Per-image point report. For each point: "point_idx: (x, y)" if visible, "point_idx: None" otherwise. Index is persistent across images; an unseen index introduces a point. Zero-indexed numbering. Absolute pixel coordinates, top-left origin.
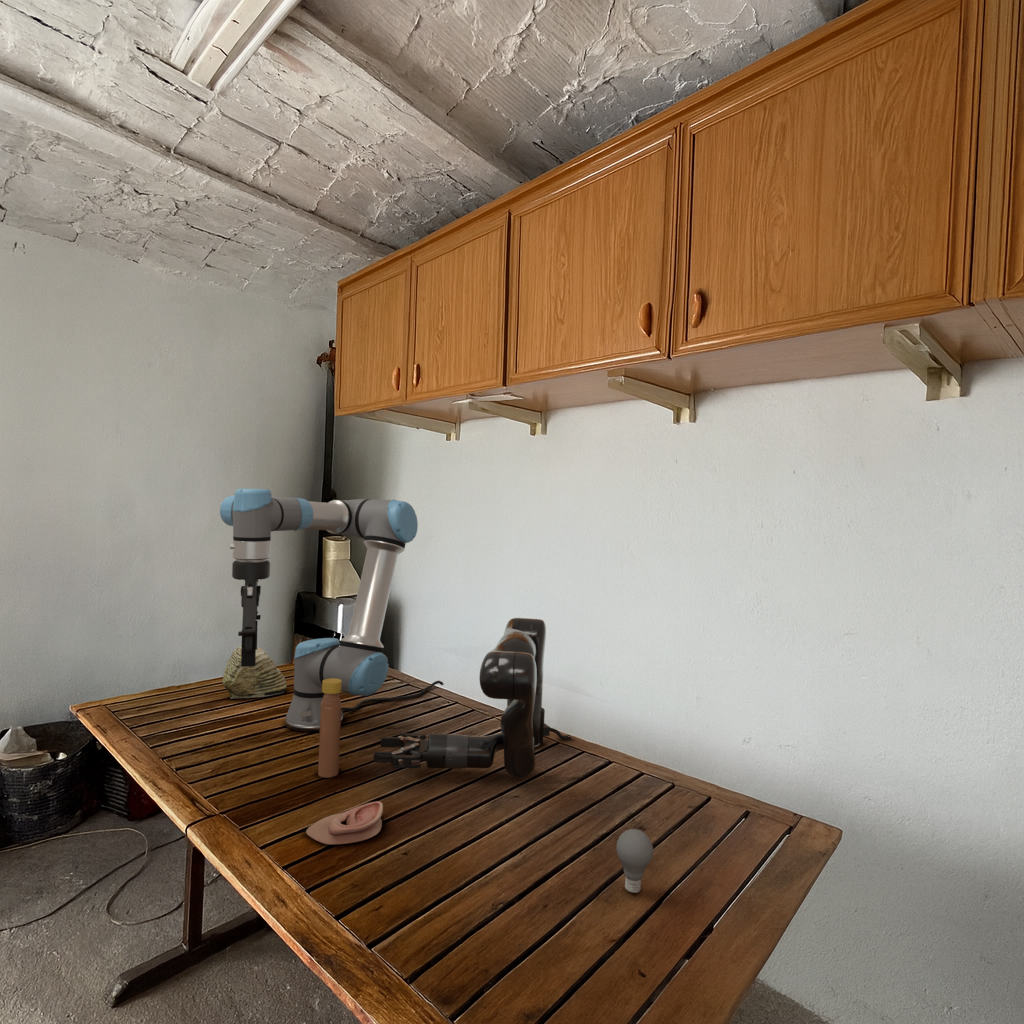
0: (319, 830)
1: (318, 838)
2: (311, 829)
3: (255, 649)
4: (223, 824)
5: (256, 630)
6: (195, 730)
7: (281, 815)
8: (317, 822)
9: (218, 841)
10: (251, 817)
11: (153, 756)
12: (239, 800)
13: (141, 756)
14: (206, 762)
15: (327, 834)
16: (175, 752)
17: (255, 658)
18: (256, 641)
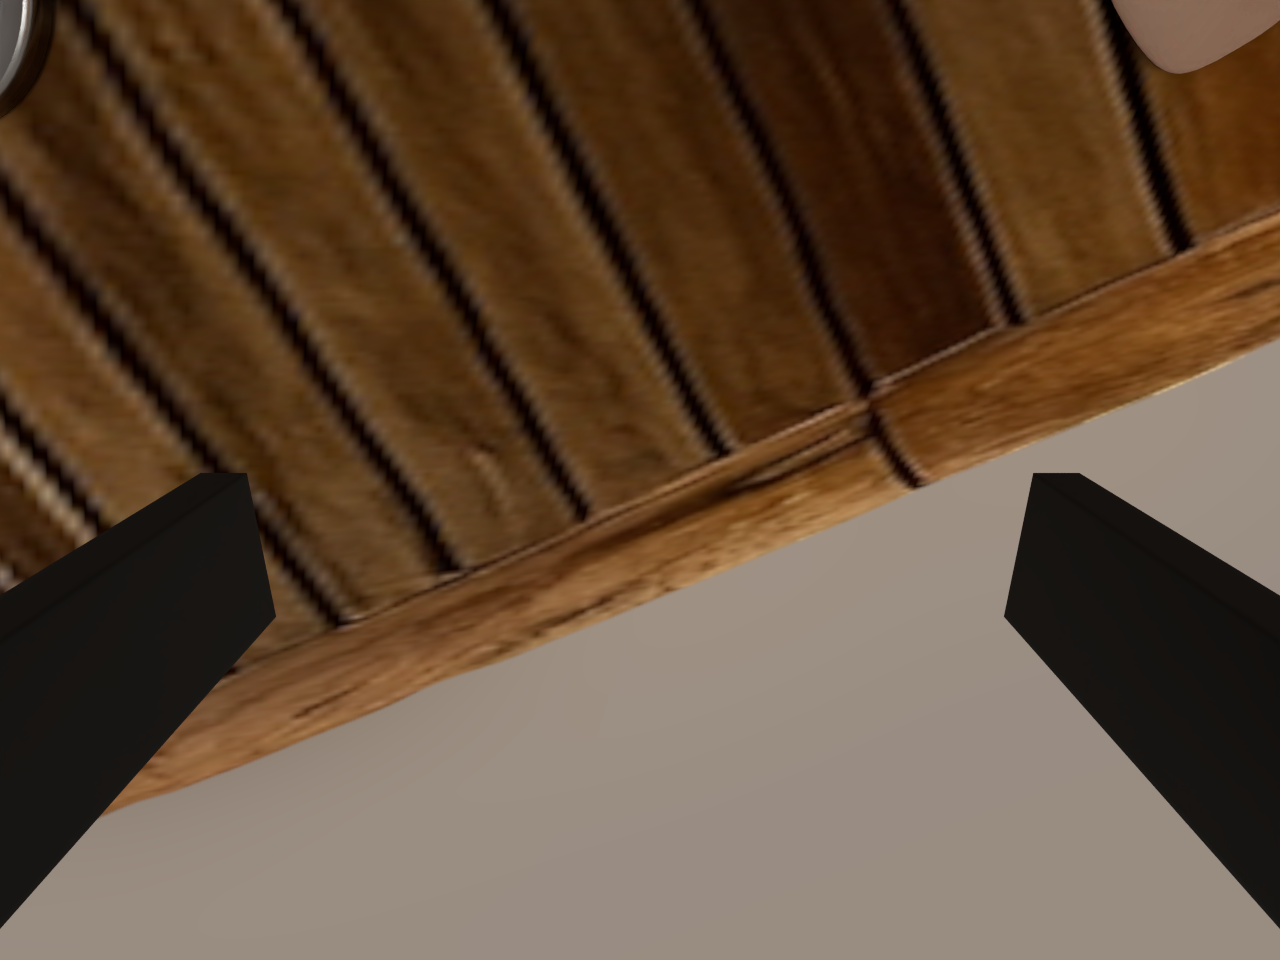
0: (1247, 11)
1: (1271, 21)
2: (1206, 47)
3: (1241, 574)
4: (956, 381)
5: (44, 628)
6: (40, 548)
7: (974, 172)
8: (1173, 16)
9: (1068, 389)
10: (943, 287)
11: (315, 655)
12: (786, 336)
13: (311, 690)
14: (399, 477)
15: None
16: (283, 592)
17: (1086, 505)
18: (182, 526)
